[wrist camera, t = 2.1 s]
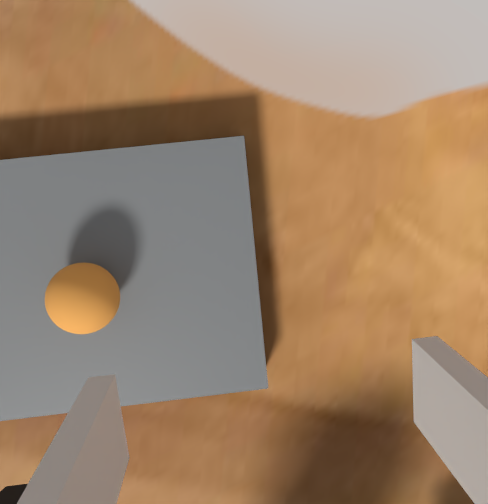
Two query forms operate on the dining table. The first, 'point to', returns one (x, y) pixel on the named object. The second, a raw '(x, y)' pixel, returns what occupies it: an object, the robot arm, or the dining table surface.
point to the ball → (82, 298)
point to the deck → (131, 274)
